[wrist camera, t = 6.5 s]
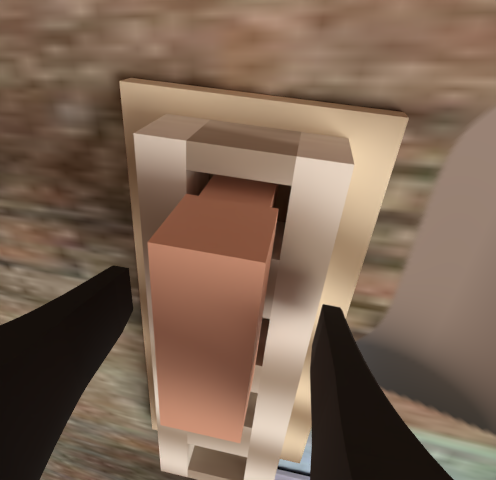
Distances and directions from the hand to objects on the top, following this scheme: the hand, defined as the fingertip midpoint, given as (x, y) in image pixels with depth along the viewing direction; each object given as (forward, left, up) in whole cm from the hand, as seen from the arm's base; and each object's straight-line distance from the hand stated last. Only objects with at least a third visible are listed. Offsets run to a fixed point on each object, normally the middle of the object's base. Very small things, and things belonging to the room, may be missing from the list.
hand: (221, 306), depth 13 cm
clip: (0, 0, -4) cm, 4 cm away
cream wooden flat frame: (-6, 0, -5) cm, 8 cm away
